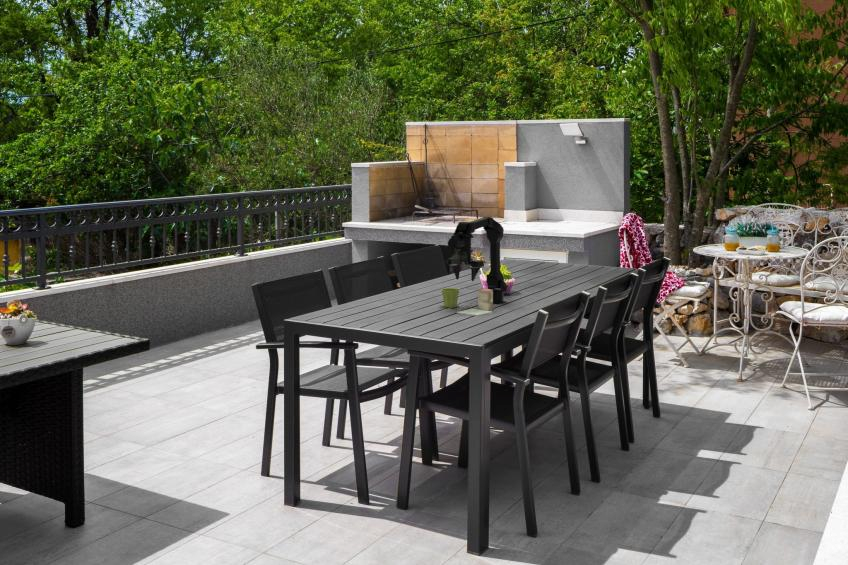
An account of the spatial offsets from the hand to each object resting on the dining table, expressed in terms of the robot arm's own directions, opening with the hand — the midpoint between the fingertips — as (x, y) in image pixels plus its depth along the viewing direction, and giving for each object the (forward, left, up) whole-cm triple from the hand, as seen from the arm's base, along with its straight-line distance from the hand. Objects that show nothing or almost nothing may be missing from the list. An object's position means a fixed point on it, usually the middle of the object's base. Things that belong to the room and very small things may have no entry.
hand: (465, 280), depth 454 cm
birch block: (-6, +8, -15) cm, 18 cm away
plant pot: (-3, -11, -15) cm, 19 cm away
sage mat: (+3, +8, -15) cm, 17 cm away
